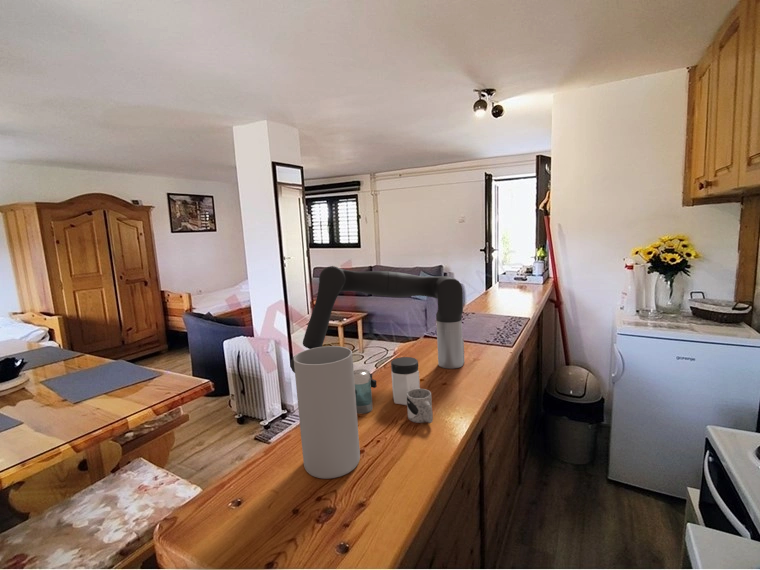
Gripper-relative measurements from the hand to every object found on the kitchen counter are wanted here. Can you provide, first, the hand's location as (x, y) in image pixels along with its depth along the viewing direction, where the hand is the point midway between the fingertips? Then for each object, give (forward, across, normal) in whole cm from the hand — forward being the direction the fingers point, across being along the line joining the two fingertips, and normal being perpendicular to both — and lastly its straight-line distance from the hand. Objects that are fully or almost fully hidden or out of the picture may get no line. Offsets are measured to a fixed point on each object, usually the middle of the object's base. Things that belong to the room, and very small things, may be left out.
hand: (364, 389), depth 106 cm
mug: (+16, +7, +7) cm, 18 cm away
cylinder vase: (+14, -21, +7) cm, 26 cm away
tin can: (-1, 0, +6) cm, 7 cm away
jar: (+4, +13, +7) cm, 15 cm away
